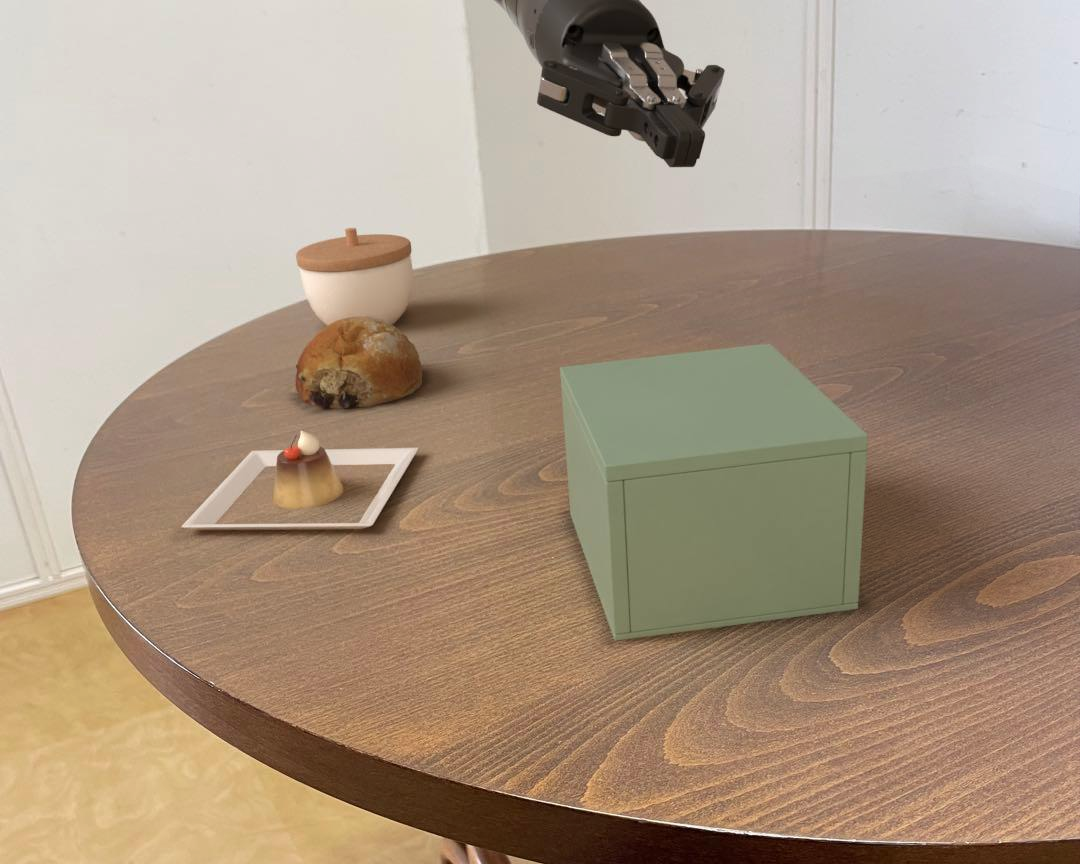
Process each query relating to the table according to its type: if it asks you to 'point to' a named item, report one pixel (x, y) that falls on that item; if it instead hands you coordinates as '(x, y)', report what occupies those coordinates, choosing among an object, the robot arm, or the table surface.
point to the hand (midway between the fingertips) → (688, 152)
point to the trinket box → (357, 276)
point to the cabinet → (712, 490)
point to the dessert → (301, 483)
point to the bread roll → (357, 365)
